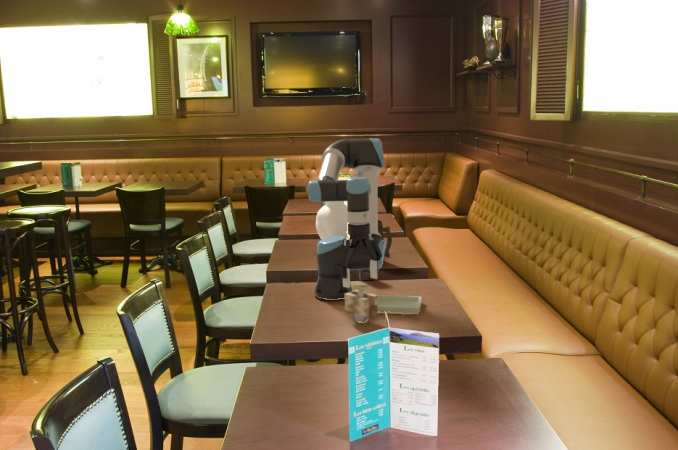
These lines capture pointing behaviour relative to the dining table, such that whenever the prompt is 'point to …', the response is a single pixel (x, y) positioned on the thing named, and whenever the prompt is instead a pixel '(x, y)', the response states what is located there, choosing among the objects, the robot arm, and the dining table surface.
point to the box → (364, 275)
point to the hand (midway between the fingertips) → (360, 282)
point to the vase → (332, 219)
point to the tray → (399, 304)
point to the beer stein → (389, 237)
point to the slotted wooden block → (361, 303)
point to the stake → (360, 293)
